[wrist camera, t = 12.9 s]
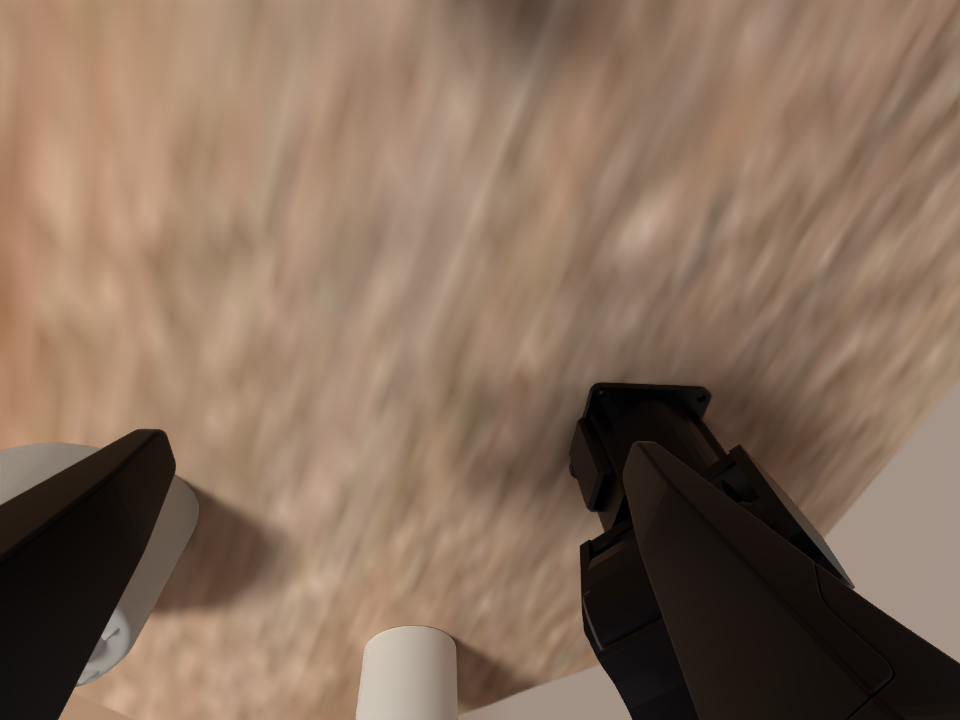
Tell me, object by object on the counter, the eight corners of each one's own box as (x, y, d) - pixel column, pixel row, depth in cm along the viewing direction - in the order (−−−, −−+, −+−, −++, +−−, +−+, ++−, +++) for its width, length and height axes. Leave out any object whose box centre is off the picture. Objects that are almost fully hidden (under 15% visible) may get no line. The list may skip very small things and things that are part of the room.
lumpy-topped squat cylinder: (-96, 470, 25) (-320, 641, 18) (138, 419, 24) (7, 574, 17) (42, 584, 30) (-85, 750, 23) (235, 545, 30) (169, 703, 22)
